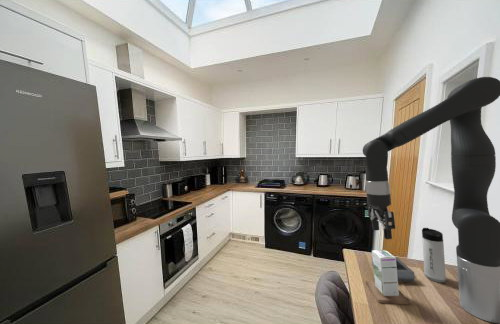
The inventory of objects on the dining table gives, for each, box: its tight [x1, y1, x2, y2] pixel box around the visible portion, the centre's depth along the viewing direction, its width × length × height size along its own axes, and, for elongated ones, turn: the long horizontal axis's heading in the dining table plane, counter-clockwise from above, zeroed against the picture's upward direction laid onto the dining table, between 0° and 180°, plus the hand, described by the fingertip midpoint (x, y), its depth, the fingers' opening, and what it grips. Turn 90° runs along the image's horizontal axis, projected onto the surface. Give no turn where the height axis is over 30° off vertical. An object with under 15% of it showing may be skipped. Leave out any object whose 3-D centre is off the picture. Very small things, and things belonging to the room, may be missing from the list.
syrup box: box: [371, 249, 400, 296], centre depth 69 cm, size 6×6×14 cm
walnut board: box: [365, 280, 411, 305], centre depth 69 cm, size 10×10×1 cm
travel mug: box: [421, 227, 447, 283], centre depth 76 cm, size 6×7×20 cm
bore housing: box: [371, 257, 416, 283], centre depth 80 cm, size 11×11×4 cm
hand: (381, 234), depth 69 cm, fingers open, 8 cm apart
